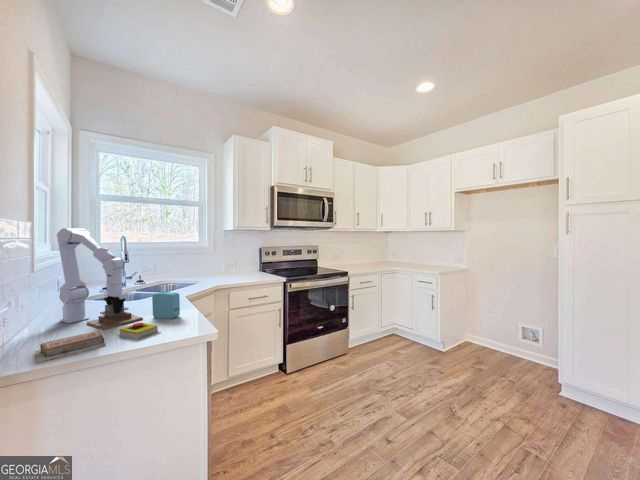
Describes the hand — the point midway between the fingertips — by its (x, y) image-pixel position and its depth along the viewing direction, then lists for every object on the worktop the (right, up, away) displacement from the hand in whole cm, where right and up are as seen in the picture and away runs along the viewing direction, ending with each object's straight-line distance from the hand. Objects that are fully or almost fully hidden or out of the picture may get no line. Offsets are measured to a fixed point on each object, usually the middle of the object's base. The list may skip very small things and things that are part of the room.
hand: (115, 312), depth 130 cm
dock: (0, -4, 0) cm, 4 cm away
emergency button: (+21, -6, -15) cm, 27 cm away
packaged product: (+7, -6, -31) cm, 32 cm away
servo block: (0, -2, 0) cm, 2 cm away
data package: (+20, -4, +7) cm, 22 cm away
